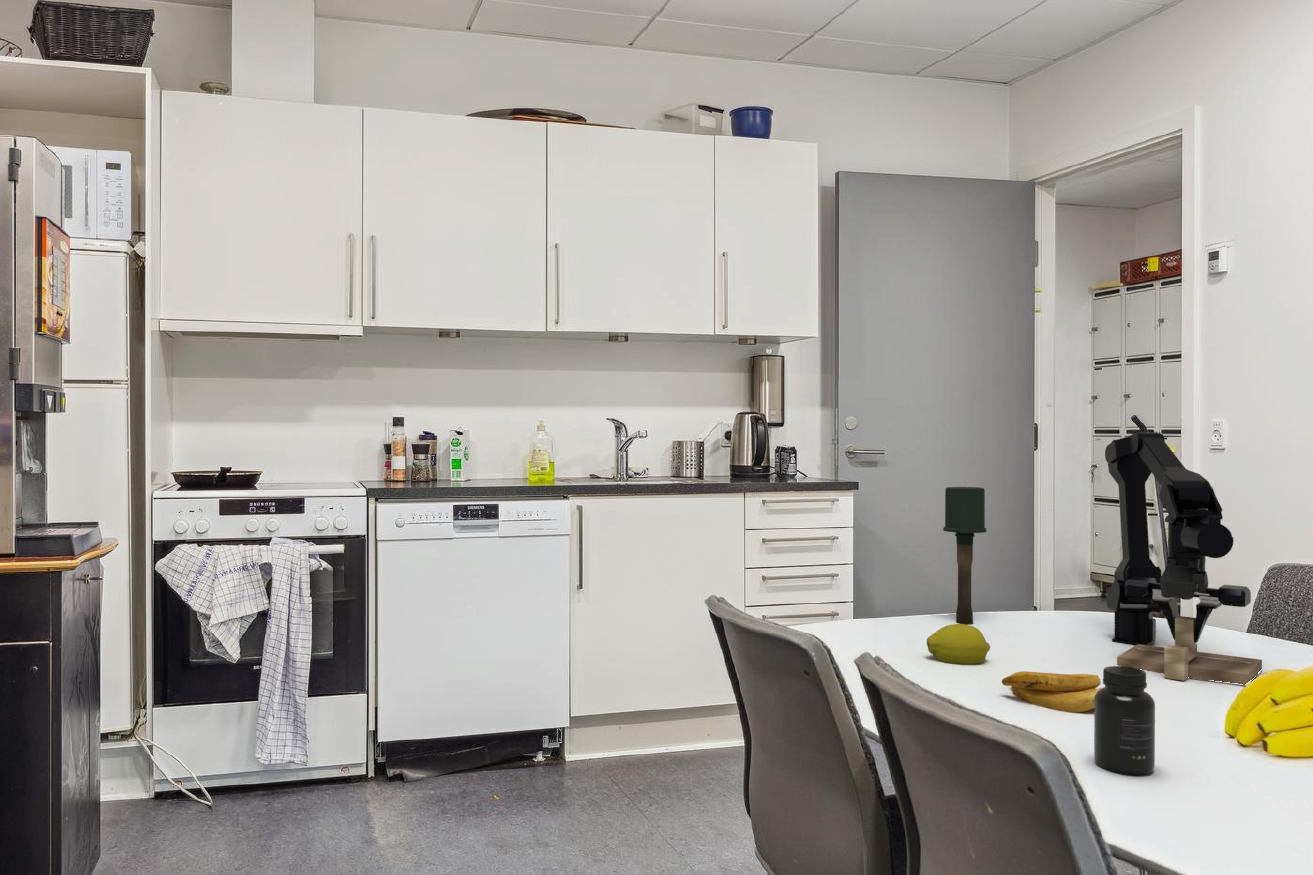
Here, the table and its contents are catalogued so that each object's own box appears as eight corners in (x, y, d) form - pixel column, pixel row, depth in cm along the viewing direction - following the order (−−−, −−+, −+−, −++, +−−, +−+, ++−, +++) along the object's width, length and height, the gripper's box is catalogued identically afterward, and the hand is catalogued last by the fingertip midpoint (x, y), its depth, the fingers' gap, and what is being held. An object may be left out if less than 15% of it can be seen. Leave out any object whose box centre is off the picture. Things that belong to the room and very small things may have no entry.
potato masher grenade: (986, 630, 210) (986, 487, 210) (985, 638, 202) (986, 489, 201) (944, 627, 212) (944, 486, 212) (941, 635, 204) (942, 488, 204)
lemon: (987, 666, 178) (987, 621, 178) (994, 676, 170) (994, 629, 170) (924, 663, 179) (924, 619, 179) (928, 674, 172) (928, 627, 172)
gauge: (1164, 677, 168) (1164, 624, 168) (1182, 663, 178) (1182, 613, 178) (1184, 680, 166) (1184, 626, 166) (1201, 666, 176) (1201, 615, 176)
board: (1117, 668, 176) (1117, 656, 176) (1137, 654, 187) (1138, 643, 187) (1247, 686, 163) (1247, 673, 163) (1262, 671, 174) (1262, 659, 174)
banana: (1149, 720, 145) (1149, 680, 145) (1016, 718, 146) (1016, 678, 146) (1107, 693, 160) (1107, 657, 160) (987, 691, 161) (987, 655, 161)
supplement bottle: (1083, 758, 127) (1083, 664, 127) (1135, 757, 128) (1135, 663, 128) (1112, 777, 120) (1113, 677, 120) (1166, 775, 121) (1167, 676, 121)
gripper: (1115, 550, 173) (1115, 641, 173) (1239, 560, 161) (1238, 657, 162) (1133, 545, 182) (1132, 631, 182) (1251, 553, 170) (1250, 645, 170)
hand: (1185, 641), depth 174 cm, fingers closed on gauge, 3 cm apart
